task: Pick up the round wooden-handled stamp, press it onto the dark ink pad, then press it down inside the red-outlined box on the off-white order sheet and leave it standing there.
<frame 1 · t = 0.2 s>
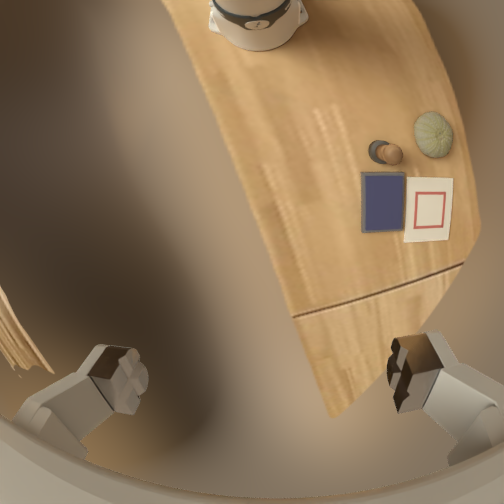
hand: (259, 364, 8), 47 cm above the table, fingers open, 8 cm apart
ink pad: (382, 201, 51), on the table
order sheet: (429, 209, 50), on the table
stamp: (379, 151, 48), on the table
sea urchin shell: (429, 134, 45), on the table
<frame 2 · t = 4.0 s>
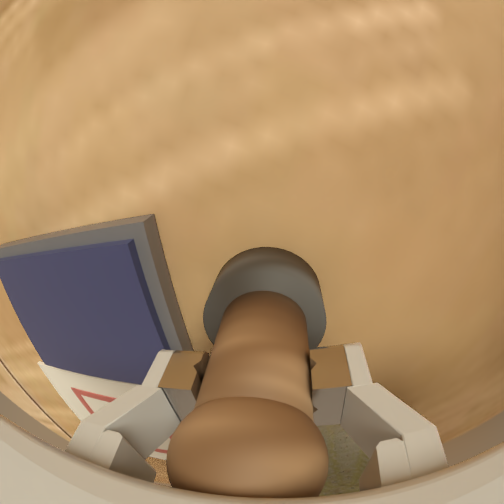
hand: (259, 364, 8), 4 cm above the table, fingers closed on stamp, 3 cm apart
ink pad: (84, 308, 13), on the table
order sheet: (131, 423, 18), on the table
stamp: (267, 296, 12), on the table, touching gripper
sea urchin shell: (341, 429, 16), on the table
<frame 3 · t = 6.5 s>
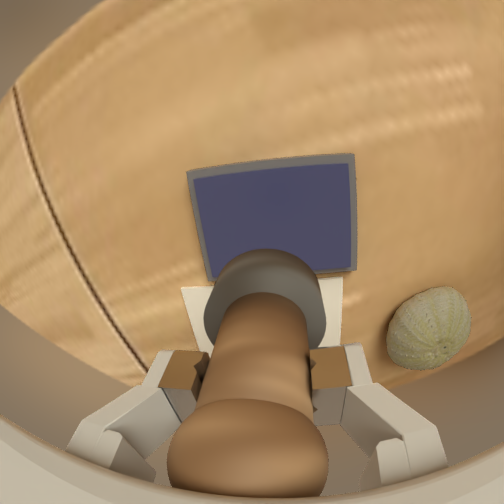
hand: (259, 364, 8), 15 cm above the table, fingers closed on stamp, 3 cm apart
ink pad: (276, 217, 21), on the table
order sheet: (266, 337, 26), on the table
stamp: (267, 297, 12), point 11 cm above the table, touching gripper
sea urchin shell: (423, 317, 24), on the table
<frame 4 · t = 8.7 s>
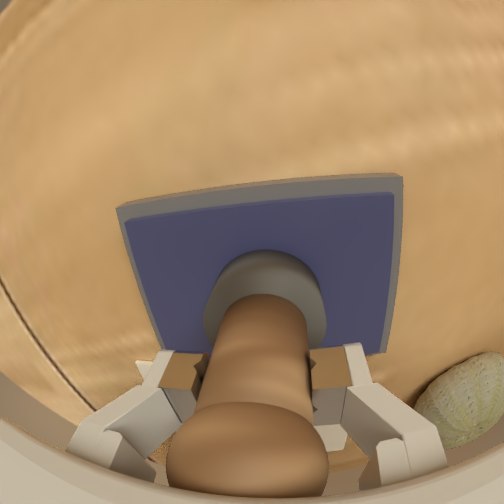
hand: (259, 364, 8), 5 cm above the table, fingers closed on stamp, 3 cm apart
ink pad: (265, 279, 13), on the table
order sheet: (254, 418, 18), on the table
stamp: (267, 298, 12), point 2 cm above the table, touching gripper
sea urchin shell: (455, 385, 16), on the table
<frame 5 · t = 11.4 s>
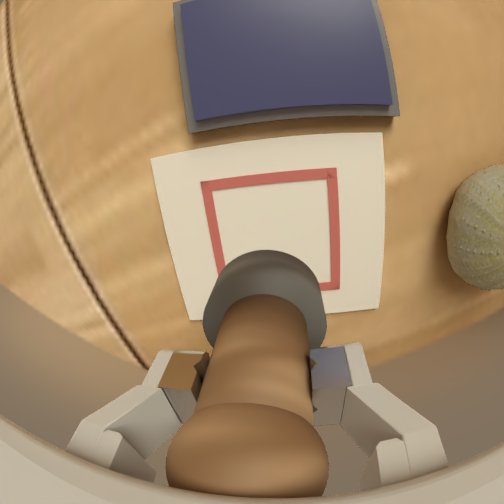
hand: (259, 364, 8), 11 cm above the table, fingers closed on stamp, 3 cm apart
ink pad: (285, 48, 13), on the table
order sheet: (275, 235, 18), on the table
stamp: (267, 299, 12), point 7 cm above the table, touching gripper
sea urchin shell: (482, 219, 16), on the table
when the fingers open (4 cm above the table, at t = 13.7 s): stamp stays where it is, resting on order sheet.
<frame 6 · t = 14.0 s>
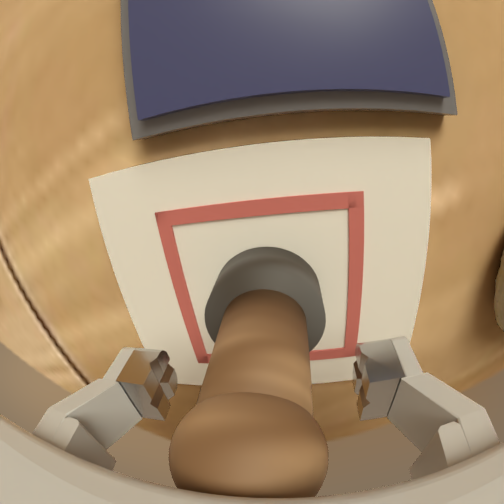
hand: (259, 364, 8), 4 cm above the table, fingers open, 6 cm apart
ink pad: (282, 6, 7), on the table
order sheet: (267, 290, 12), on the table
stamp: (267, 295, 12), resting on order sheet
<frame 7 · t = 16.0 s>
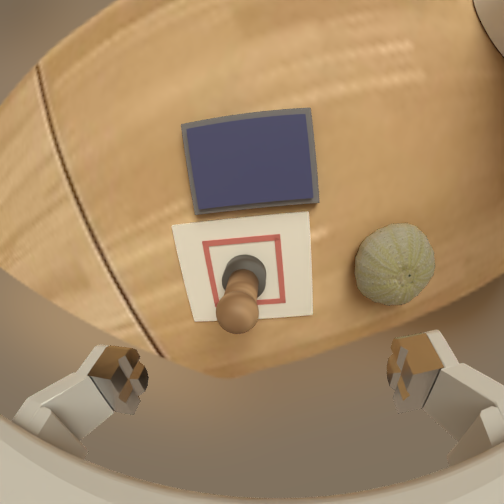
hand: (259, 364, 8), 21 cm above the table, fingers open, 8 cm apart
ink pad: (251, 160, 26), on the table
order sheet: (245, 271, 30), on the table
stamp: (245, 273, 30), resting on order sheet
sea urchin shell: (389, 257, 29), on the table
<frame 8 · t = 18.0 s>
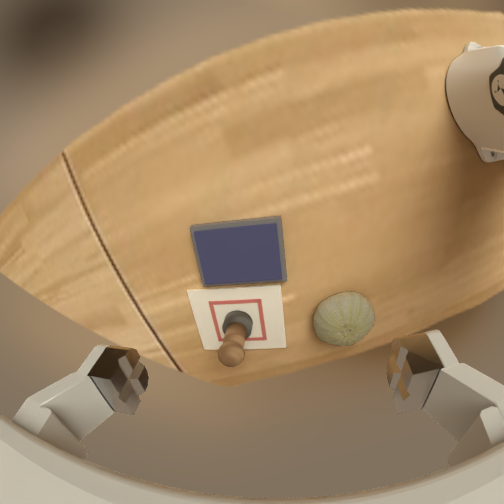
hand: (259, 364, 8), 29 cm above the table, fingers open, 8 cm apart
ink pad: (240, 251, 39), on the table
order sheet: (238, 320, 43), on the table
stamp: (238, 321, 43), resting on order sheet
sea urchin shell: (342, 311, 41), on the table
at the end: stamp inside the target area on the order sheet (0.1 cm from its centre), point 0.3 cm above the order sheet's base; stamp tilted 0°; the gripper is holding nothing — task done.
